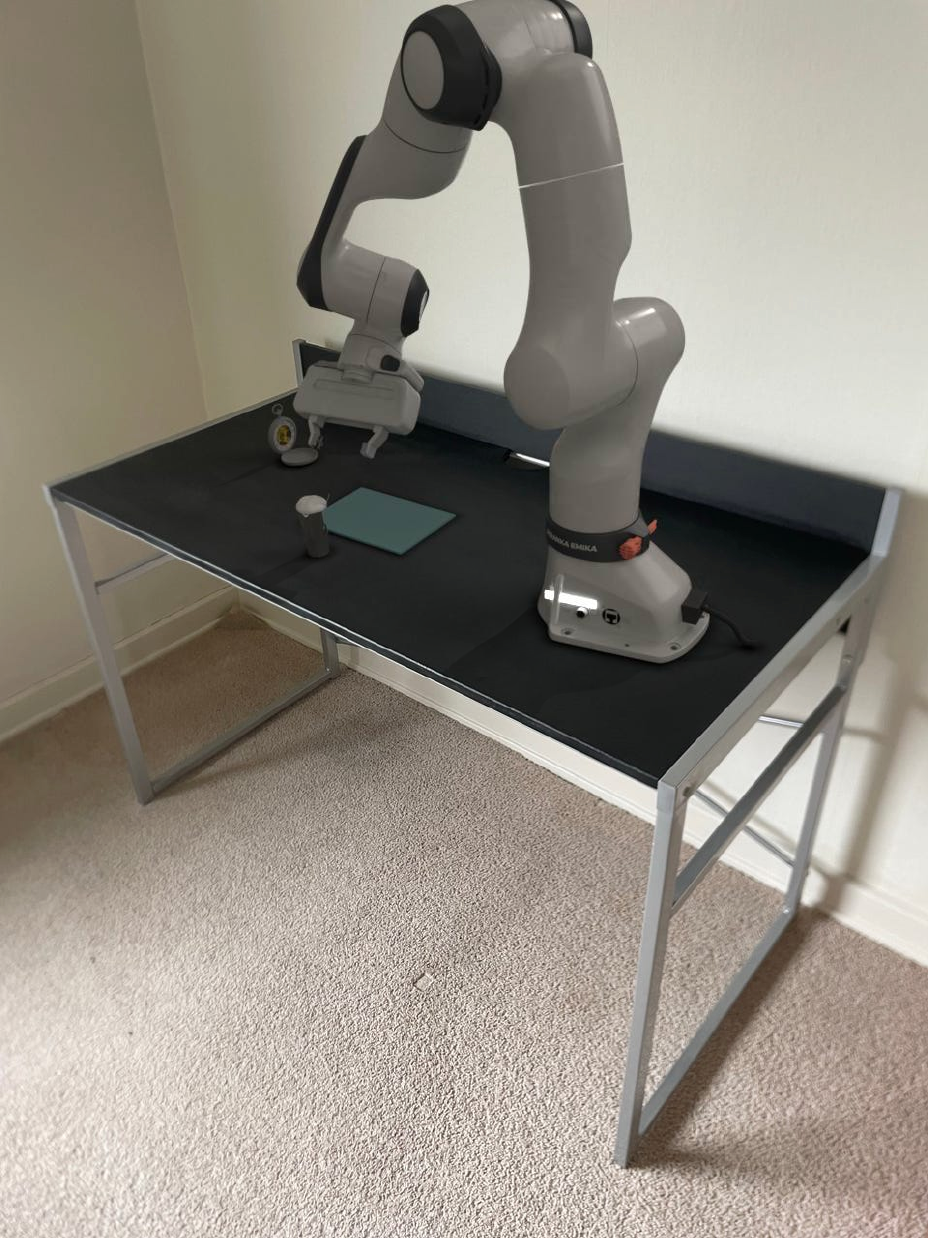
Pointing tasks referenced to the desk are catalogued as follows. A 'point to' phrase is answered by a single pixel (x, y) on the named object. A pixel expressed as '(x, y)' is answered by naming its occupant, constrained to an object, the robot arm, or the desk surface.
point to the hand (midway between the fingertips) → (339, 451)
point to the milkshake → (314, 524)
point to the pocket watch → (288, 442)
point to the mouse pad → (384, 520)
